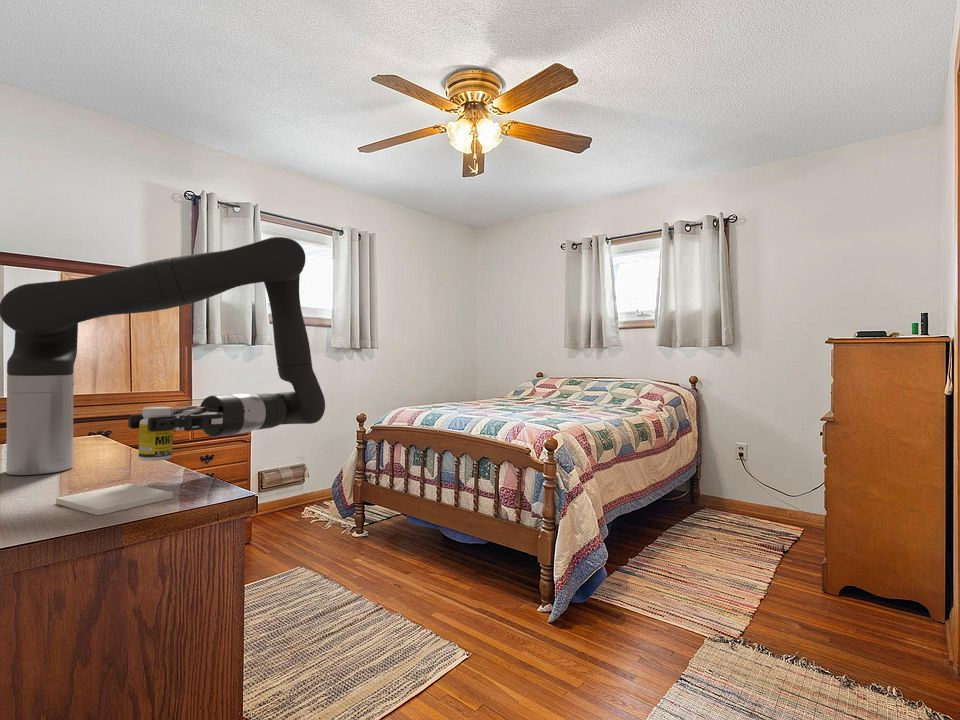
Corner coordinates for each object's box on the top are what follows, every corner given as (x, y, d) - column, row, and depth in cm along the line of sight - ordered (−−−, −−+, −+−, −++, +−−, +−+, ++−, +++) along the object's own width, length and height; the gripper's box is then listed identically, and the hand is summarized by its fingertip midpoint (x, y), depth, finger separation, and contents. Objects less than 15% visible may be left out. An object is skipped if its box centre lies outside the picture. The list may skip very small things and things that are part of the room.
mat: (56, 503, 75) (56, 497, 75) (130, 488, 84) (130, 483, 84) (98, 515, 70) (98, 509, 70) (172, 498, 79) (172, 492, 79)
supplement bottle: (156, 462, 84) (157, 409, 84) (131, 460, 85) (132, 408, 85) (179, 456, 89) (180, 406, 89) (155, 455, 90) (155, 405, 90)
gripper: (209, 392, 103) (114, 397, 88) (259, 396, 96) (166, 402, 81) (208, 430, 103) (113, 442, 88) (259, 437, 96) (165, 451, 81)
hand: (139, 423), depth 85 cm, fingers closed on supplement bottle, 4 cm apart
